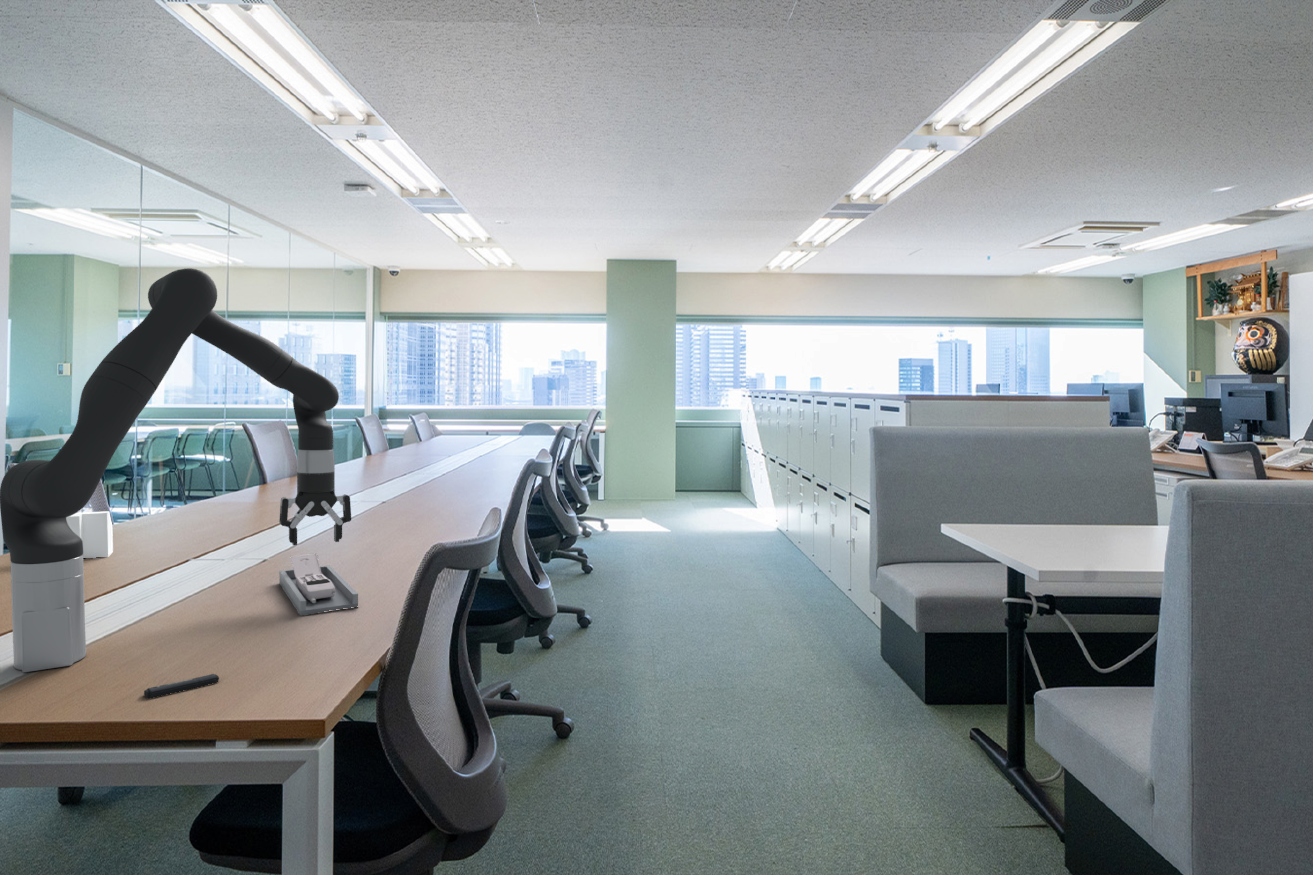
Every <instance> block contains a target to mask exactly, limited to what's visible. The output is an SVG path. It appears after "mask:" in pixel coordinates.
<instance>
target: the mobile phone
mask: <svg viewBox="0 0 1313 875" xmlns="http://www.w3.org/2000/svg"><path fill="white" fill-rule="evenodd" d="M289 559H290V560H289V561H290V562H291V565H292V569H294V573H295V576H296V584H297V586H298V588H299V590H300V591H301V593H302V594H303V595H304V596H305V598H306V599H308V600H310V602H312V603H316V599H320V598H327V597H334V596H335V587H334V585H333V583H332V582H331V581H330V580H329V579H328V578H326V577H325V576H324V575H323V574H322V573H321V569H320V566H321V565H320V560H319V556H318V555H317V552H315V553H305V554H296V555H292V556H291V555H290V558H289Z"/></svg>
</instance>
